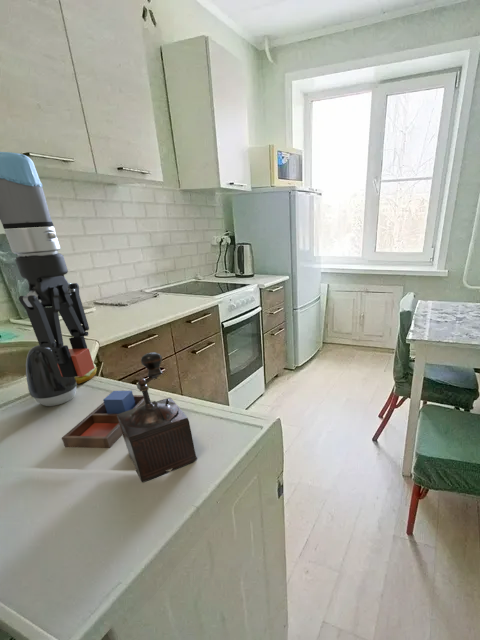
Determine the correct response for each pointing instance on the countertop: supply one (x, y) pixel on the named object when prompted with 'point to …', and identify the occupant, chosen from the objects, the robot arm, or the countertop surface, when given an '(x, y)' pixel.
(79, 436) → the tray
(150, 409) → the manual coffee grinder
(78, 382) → the decorated donut
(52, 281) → the robot arm
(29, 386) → the black tapered dome
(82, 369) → the terracotta block
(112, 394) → the slate-blue block
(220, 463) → the countertop surface
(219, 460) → the countertop surface
